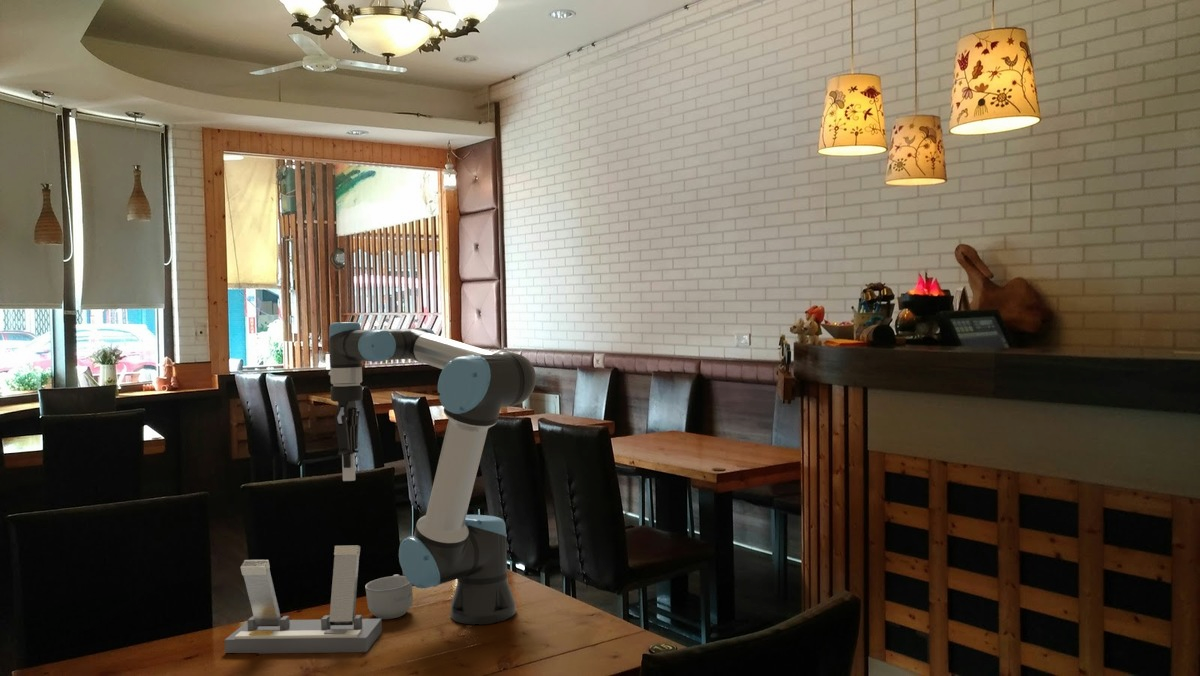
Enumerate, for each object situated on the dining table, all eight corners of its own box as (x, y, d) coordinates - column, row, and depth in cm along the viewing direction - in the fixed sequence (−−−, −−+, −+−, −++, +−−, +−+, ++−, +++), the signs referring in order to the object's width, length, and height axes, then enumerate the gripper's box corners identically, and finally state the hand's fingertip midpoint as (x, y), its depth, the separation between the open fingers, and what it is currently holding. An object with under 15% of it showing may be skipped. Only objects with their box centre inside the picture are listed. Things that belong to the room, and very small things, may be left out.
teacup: (401, 624, 204) (400, 589, 204) (357, 621, 206) (356, 587, 206) (425, 604, 217) (424, 572, 217) (384, 602, 220) (383, 570, 219)
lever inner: (354, 625, 194) (360, 546, 199) (351, 625, 191) (357, 545, 197) (331, 625, 194) (338, 546, 199) (328, 625, 191) (334, 545, 197)
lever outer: (282, 621, 194) (268, 559, 187) (278, 629, 192) (264, 567, 185) (259, 621, 195) (244, 560, 188) (255, 629, 192) (240, 567, 185)
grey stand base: (381, 631, 199) (381, 607, 198) (366, 652, 187) (365, 626, 187) (248, 633, 199) (248, 609, 199) (225, 653, 187) (224, 628, 187)
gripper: (339, 383, 225) (342, 475, 226) (322, 387, 212) (325, 485, 213) (369, 382, 225) (371, 475, 226) (353, 386, 212) (356, 485, 213)
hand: (349, 480), depth 219 cm, fingers closed
